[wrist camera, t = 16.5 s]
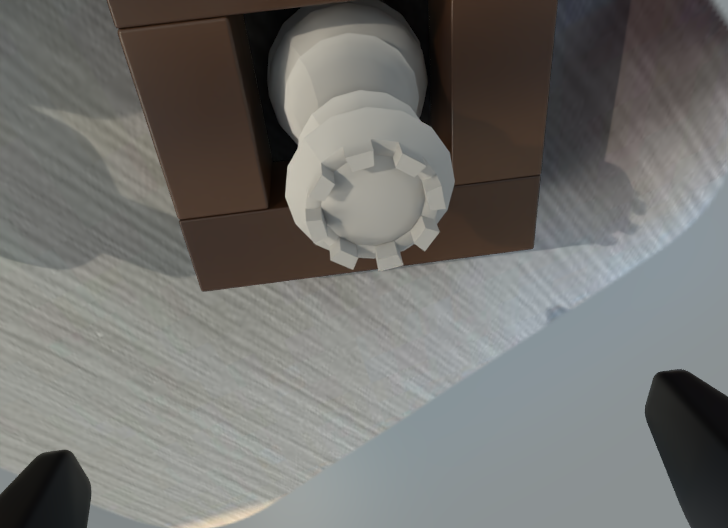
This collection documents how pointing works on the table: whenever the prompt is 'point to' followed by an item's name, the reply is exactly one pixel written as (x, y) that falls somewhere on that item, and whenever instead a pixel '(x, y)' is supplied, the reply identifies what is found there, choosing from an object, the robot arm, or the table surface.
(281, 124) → the rook chess piece
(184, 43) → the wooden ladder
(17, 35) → the table surface
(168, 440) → the table surface
